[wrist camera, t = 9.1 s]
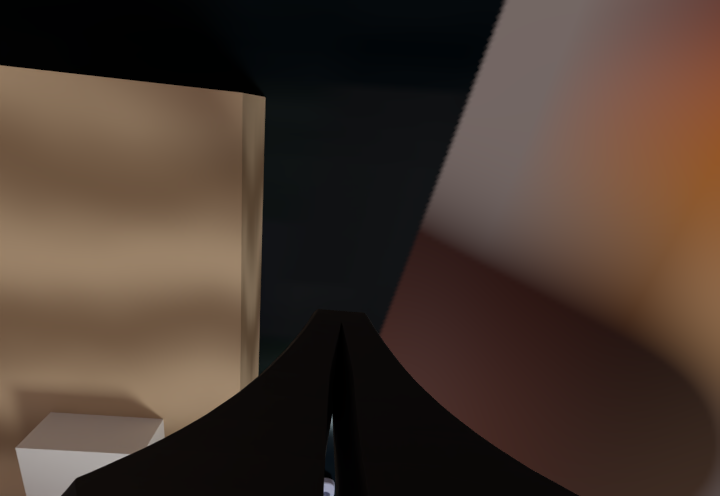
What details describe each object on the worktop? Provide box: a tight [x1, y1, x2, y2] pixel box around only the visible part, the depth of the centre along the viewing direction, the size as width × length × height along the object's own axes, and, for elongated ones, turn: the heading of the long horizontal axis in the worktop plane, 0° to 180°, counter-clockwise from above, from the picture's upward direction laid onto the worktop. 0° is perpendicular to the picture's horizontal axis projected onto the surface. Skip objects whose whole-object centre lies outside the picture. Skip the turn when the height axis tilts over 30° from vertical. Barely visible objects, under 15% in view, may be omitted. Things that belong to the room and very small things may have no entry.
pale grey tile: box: [15, 412, 165, 496], centre depth 18 cm, size 5×5×2 cm
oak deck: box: [0, 65, 265, 496], centre depth 18 cm, size 20×12×4 cm, turn 174°
